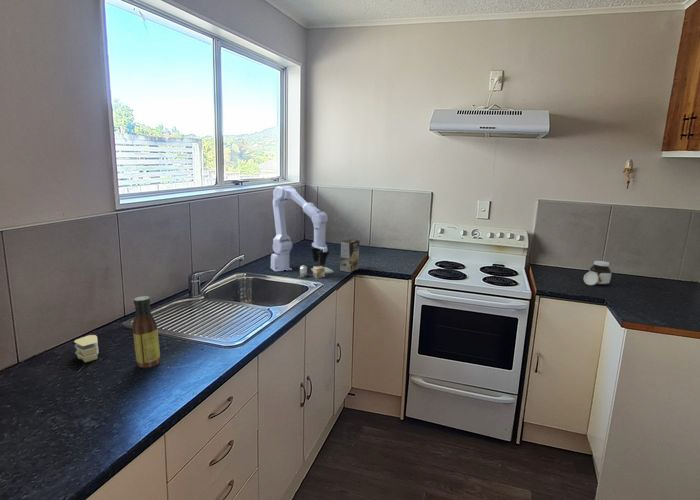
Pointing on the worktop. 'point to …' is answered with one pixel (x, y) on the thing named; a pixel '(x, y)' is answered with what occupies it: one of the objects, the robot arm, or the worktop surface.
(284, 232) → the robot arm
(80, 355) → the cream layered block
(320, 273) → the maple block
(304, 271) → the clear glass cylinder
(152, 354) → the sauce bottle
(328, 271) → the sage tile
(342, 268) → the coffee box
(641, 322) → the worktop surface
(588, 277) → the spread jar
